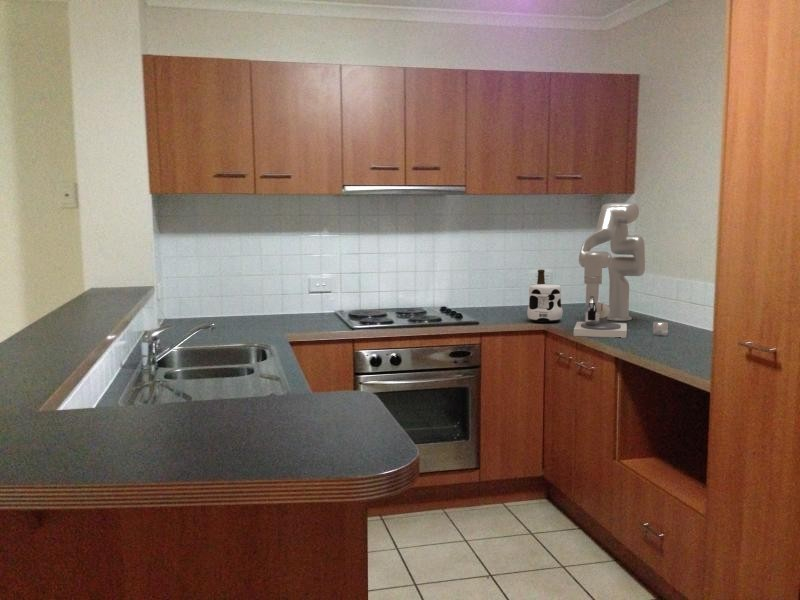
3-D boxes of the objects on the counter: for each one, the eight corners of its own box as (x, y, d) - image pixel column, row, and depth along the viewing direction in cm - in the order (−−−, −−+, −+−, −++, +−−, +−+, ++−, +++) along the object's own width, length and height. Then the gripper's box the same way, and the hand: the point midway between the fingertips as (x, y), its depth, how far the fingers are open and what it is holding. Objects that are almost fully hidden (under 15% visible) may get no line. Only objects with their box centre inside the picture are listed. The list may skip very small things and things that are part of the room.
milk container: (549, 318, 352) (550, 283, 349) (569, 322, 335) (570, 286, 333) (520, 320, 345) (520, 285, 343) (539, 325, 329) (539, 288, 327)
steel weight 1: (585, 323, 308) (585, 311, 307) (599, 323, 306) (599, 311, 305) (584, 325, 302) (585, 313, 302) (598, 326, 300) (599, 313, 300)
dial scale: (577, 327, 319) (577, 301, 318) (626, 329, 312) (627, 302, 311) (573, 335, 298) (574, 307, 297) (626, 337, 291) (627, 309, 290)
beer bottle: (548, 315, 361) (548, 270, 358) (533, 315, 363) (533, 270, 360) (548, 313, 369) (548, 269, 366) (533, 313, 370) (533, 269, 367)
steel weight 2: (652, 333, 301) (653, 321, 300) (667, 334, 299) (667, 321, 298) (653, 336, 295) (653, 323, 295) (667, 336, 294) (668, 324, 293)
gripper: (585, 278, 311) (584, 315, 313) (582, 282, 295) (582, 321, 297) (602, 278, 309) (601, 316, 311) (601, 282, 292) (600, 321, 294)
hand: (592, 318), depth 304 cm, fingers open, 9 cm apart
